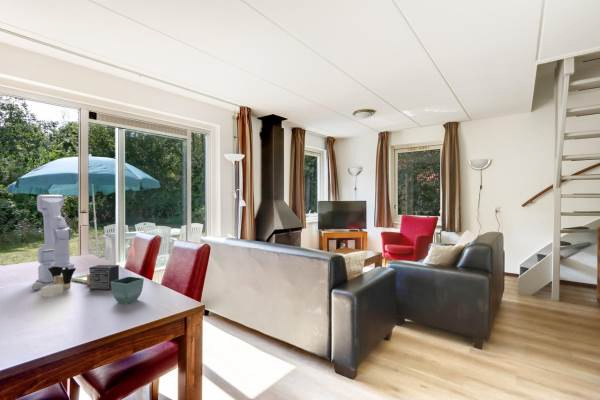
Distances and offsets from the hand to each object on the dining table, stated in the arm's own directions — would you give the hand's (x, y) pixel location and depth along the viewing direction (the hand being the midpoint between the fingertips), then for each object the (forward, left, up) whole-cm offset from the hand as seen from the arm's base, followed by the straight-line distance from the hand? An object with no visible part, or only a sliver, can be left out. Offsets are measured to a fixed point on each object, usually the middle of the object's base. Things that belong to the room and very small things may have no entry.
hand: (62, 282), depth 139 cm
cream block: (+6, -7, -3) cm, 10 cm away
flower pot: (+44, 0, -3) cm, 44 cm away
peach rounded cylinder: (+6, +10, -3) cm, 12 cm away
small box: (+18, +8, -3) cm, 20 cm away
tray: (-3, +15, -3) cm, 16 cm away
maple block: (0, 0, -3) cm, 3 cm away
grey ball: (-8, -6, -1) cm, 10 cm away
